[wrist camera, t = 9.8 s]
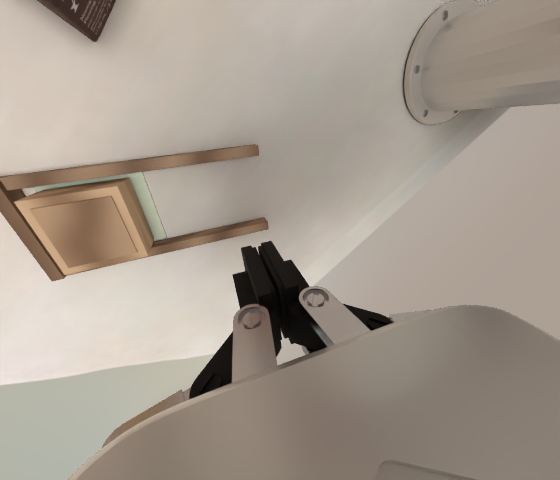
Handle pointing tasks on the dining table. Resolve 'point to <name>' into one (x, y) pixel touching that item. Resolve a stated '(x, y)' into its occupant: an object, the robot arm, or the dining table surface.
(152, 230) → the bay
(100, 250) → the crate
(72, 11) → the box
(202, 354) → the dining table surface
